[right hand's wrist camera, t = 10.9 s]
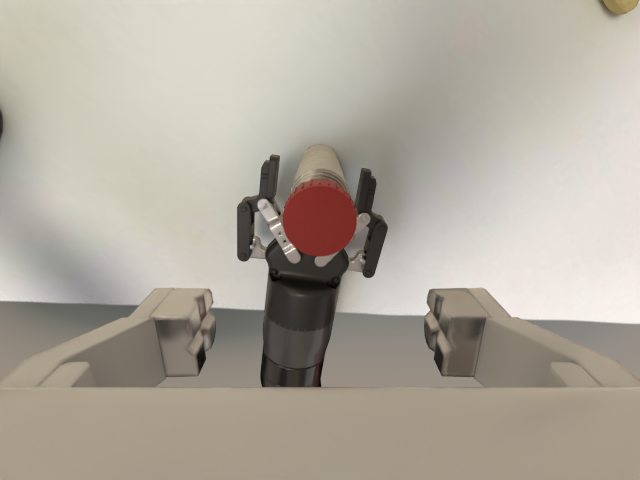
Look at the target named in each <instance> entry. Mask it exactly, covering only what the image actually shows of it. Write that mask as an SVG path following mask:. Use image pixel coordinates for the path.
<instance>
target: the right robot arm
mask: <svg viewBox="0 0 640 480" xmlns="http://www.w3.org/2000/svg"><path fill="white" fill-rule="evenodd" d="M212 304H213V298H212V292H211V291H210V289H190V288H157V289H154V290H153V291H152V292H151V293H150V295H149V296H148V297H147V298H146V299H145V300H144V301H143V302H142V303H141V304H140V305H139V306H138V307H137V309H136V310H135V311H134V312H133V313H132V314H131V315H130V316H129V317H126V318H120V319H118V320H116V321H113V322H111V323H109V324H106V325H104V326H102V327H99V328H97V329H95V330H92V331H90V332H88V333H85V334H83V335H81V336H78V337H76V338H74V339H72V340H69V341H67V342H65V343H62V344H60V345H58V346H55V347H53V348H51V349H49V350H46V351H44V352H41V353H39V354H37V355H34V356H32V357H30V358H28V359H25V360H23V361H22V362H21V363H19V364H18V365H17V366H16V367H15V368H14V369H12V370H11V371H10V372H9V373H8V374H6V375H5V376H4V377H3V378H2V379H0V480H640V379H638V378H637V377H636V376H635V375H634V374H633V373H631V372H630V371H629V370H628V369H627V368H625V367H624V366H623V365H622V364H621V363H620V362H618V361H617V360H614V359H612V358H610V357H608V356H605V355H603V354H601V353H598V352H596V351H594V350H591V349H589V348H587V347H584V346H582V345H580V344H578V343H575V342H573V341H571V340H568V339H566V338H564V337H561V336H559V335H557V334H555V333H552V332H550V331H548V330H545V329H543V328H541V327H538V326H536V325H534V324H531V323H529V322H527V321H525V320H522V319H520V318H516V317H511V316H510V315H509V314H508V313H507V312H506V311H505V310H504V308H503V307H502V306H501V305H500V304H499V303H498V302H497V301H496V300H495V299H494V298H493V297H492V296H491V295H490V293H489V292H488V291H487V290H486V289H484V288H450V289H430V290H429V293H428V297H427V304H428V306H429V308H430V311H429V312H428V313H427V315H426V316H425V322H424V331H425V338H426V342H427V344H428V347H429V348H430V349H431V350H432V351H434V352H435V355H434V360H435V362H436V364H437V367H438V369H439V371H440V373H441V375H442V376H454V377H474V379H475V380H477V381H478V382H479V383H481V384H482V385H483V386H484V387H156V386H157V385H158V384H160V383H161V382H162V381H163V380H165V379H166V377H185V376H198V375H199V373H200V371H201V369H202V367H203V364H204V362H205V360H206V355H205V352H206V351H208V350H209V349H211V347H212V345H213V342H214V338H215V332H216V321H215V316H214V315H213V313H212V312H211V311H210V308H211V306H212Z"/></svg>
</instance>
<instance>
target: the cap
mask: <svg viewBox="0 0 640 480" xmlns="http://www.w3.org/2000/svg"><path fill="white" fill-rule="evenodd" d="M284 208H285V210H284V212H283V215H282V217H283V228H284V232H285V234H286V237H287V238H288V240H289V242H290V243H291V244H292V245H293V246H294V247H295V248H296V249H298V250H299V251H301V252H303V253H305V254H308V255H311V256H328V255H332V254H335V253H337V252H339V251H340V250H342V249H343V248H344V247H346V246H347V245H348V243H349V242H350V241H351V239H352V238H353V236H354V233H355V230H356V226H357V214H356V211H355V209H354V208H355V205H354V202H353V201H352V200H351V197H350V194H349V193H347V192H346V191H345V189H344V187H343V188H342V187H341V186H340V185H338V184H337V182H336V183H335V182H332V181H329V179H328V180H324V179H321V178H319V179H315V180H312V179H310V181H307V182H305V183H304V182H303V183H302V184H301V185H300V186H298V187H296V188H295V190H294V191H293V192H292V194H291V193H290V196H289V198H288V201H286V204H285V207H284Z"/></svg>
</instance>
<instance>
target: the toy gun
mask: <svg viewBox="0 0 640 480" xmlns="http://www.w3.org/2000/svg"><path fill="white" fill-rule="evenodd" d="M603 2H604V4H605V5H606V7H607V8H608V9H609V10H610V11H611V12H613V13H616V14H625V13H627V12H629V11H631V10H632V9H634V8H635V7H636V6H637V4H638V0H603Z"/></svg>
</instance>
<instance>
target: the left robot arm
mask: <svg viewBox="0 0 640 480" xmlns="http://www.w3.org/2000/svg"><path fill="white" fill-rule="evenodd" d="M0 131H1V120H0ZM279 161H280V156H279V155H271V156H270V160H266V161H265V162H264V164H263V166H262V168H261V180H260V192H259V195H257V196H253V197H245V198H244V199H243V200H242V202H241V203H240V204H239V205H238V207H237V256H238V259H239V260H241V261H247V260H248V259H249V258H261V259H266V261H267V263H268V266H269V273H268V282H267V292H266V302H265V310H264V322H263V341H264V343H263V354H262V364H261V384H262V387H321V380H320V379H321V372H322V367H323V361H324V356H325V351H326V348H327V346H328V343H329V340H330V336H331V330H332V325H333V320H334V314H335V309H336V304H337V298H338V293H339V287H340V282H341V278H342V275H343V274H344V272H345V271H346V270H353V271H358V272H362V273H363V275H364V276H365V277H366V278H371V277H373V276H374V274H375V270H376V267H377V264H378V260H379V257H380V253H381V250H382V246H383V243H384V239H385V236H386V233H387V229H388V227H387V224H386V223H385V221H384V219H383V217H382V216H380V215H377V214H375V213H373V212H372V211H371V209H372V204H373V199H374V194H375V189H376V179H375V178H374V176H371V170H370V169H365V168H362V170H361V174H360V180H359V185H358V190H357V196H356V201H355V206H356V209H355V211H356V214H357V226H356V230H355V233H354V236H353V238H352V239H351V241H352V240H353V239H354V237H355V235H356V234H357V233H358V232H359V231H360V230H362V229H363V228H364V227H365V226H367V227H369V231H368V235H367V238H366V242H365V246H364V250H359V251H358V252H357V253H356V255H355V256H354V257H353V258H348V255H347V253H346V251H345V250H344V248H343V249H342V250H340V251H339V252H337V253H335V254H332V255H328V256H311V255H308V254H305V253H303V252H301V251H299V250H298V249H296V248H295V247H294V246H293V245H292V244H291V243H290V242H289V240H288V238H287V237H286V234H285V232H284V228H283V217H282V215H283V211H282V210H281V209H280V208H279V206H278V204H277V203H276V201H275V199H274V196H275V195H276V190H277V180H278V171H279ZM257 211H260V212H261V214H262V215H263V217H264V218H265V220H266V221H267V223H268V227H269V229H270V230H271V232H272V234H273V235H274V237H275V239H274V240H273V241H272V242H271V243H270V244H269V245H268V247H264V246H263V245H262V244H261V240H260V238H259V237H258V236H254V220H255V212H257ZM351 241H350V242H351ZM350 242H349V243H350Z"/></svg>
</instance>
